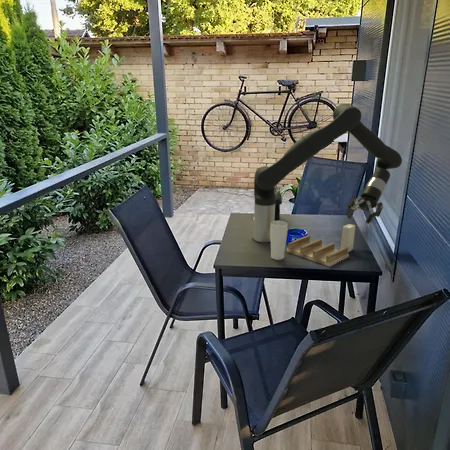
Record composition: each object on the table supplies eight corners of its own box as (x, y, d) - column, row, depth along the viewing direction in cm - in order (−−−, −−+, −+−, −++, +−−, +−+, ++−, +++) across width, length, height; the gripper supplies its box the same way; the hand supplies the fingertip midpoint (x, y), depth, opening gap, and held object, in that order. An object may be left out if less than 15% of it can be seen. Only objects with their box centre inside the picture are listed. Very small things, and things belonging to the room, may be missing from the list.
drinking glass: (273, 262, 157) (274, 226, 152) (266, 255, 163) (267, 221, 158) (288, 260, 158) (290, 225, 154) (281, 253, 165) (283, 219, 160)
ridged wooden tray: (286, 251, 167) (287, 242, 166) (306, 243, 176) (306, 234, 175) (329, 266, 152) (330, 257, 151) (348, 256, 162) (349, 247, 160)
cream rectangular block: (340, 250, 168) (342, 226, 164) (346, 247, 171) (349, 223, 168) (346, 252, 166) (349, 228, 162) (352, 249, 169) (355, 225, 166)
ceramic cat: (281, 226, 198) (283, 187, 191) (268, 226, 198) (270, 187, 192) (277, 214, 217) (279, 179, 210) (265, 214, 217) (267, 179, 210)
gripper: (356, 182, 176) (340, 212, 172) (387, 188, 166) (371, 219, 162) (361, 192, 181) (345, 221, 177) (391, 198, 171) (375, 228, 167)
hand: (357, 220), depth 169 cm, fingers open, 8 cm apart
